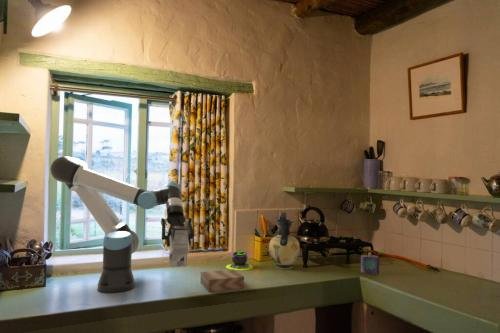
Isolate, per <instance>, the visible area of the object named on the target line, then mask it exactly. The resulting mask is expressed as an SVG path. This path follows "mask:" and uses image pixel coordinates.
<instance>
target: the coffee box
mask: <svg viewBox="0 0 500 333" xmlns="http://www.w3.org/2000/svg"><path fill="white" fill-rule="evenodd" d="M188 233H189V229H188V226H186V225H185V226H171V234H170V238H172V248H173V251H172V254H170V253H169V257H168V260H169V261H168V263H169V265H170V266H171V268H186V267H187V266H188V264H187V262H188V254H187V250H188Z"/></svg>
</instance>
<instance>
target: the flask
mask: <svg viewBox="0 0 500 333" xmlns="http://www.w3.org/2000/svg"><path fill="white" fill-rule="evenodd" d="M360 273H361V274H367V275H368V274H369V275H371V274H372V275H379V274H380V257H379V256H378V255H374V254H372V252H368V255H361V256H360Z"/></svg>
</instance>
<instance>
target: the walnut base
mask: <svg viewBox="0 0 500 333" xmlns="http://www.w3.org/2000/svg"><path fill="white" fill-rule="evenodd" d="M200 284H201V286H203V287H204V289H205V290H206V291H207V292H208V293H212V292H221V291H232V289H233V290H240V289H241V288H242V289H245V276H244V275H242V274H241V273H239V272H238V270H234V269H221V270H219V269H218V270H211V271H210V270H209V271H207V270H206V271H201V272H200Z"/></svg>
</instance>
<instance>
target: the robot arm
mask: <svg viewBox="0 0 500 333" xmlns="http://www.w3.org/2000/svg"><path fill="white" fill-rule="evenodd" d="M49 170H50V174H51V176H52V178H53V179H54V180H56V181H58V182H61V183H64V184H65V186H66V187H67V188H68V189H69V191H72V192H75V193H76V195H77V196H78V197H79V199H80V200H81V202H82V203H83V204H84V207H86V209H87V210H88V211H89V212H90V214H91V216H92V217H93V219H94V220H95V221H96V223H97V224H98V225H99V228H101V229H102V231H103V232H104V236H103V242H102V245H103V247H102V248H103V250H102V271H101V274H100V276H99V279H98V282H97V291H99V292H103V293H111V294H112V293H121V292H126V291H130V290H132V289H134V288H135V287H136V280H135V277H134V274H133V271H132V255H133V254H134V253H135V252H136V251H137V249H138V247H139V243H140V242H139V241H140V240H139V236H138V234H137V233H136V232H135V231H133V230H132V229H131V228H130V227H129V225H128V224H127V223H126V222H122V221H121V220H120V219H119V217H118V215H117V214H116V213H115V211H114V210H113V208H112V207H111V206H110V204H109V203H108V201H107V200H106V199H105V197H104V196H103V194H105V195H107V196H110V197H114V198H116V199H118V200H121V201H125V202H127V203H130V204H133V205H135V206H138V207H139V208H141V209H144V210H150V209H153V208H155V207H157V206H161V205H165V206H166V207H165V208H166V218H161V220H160V224H161V240H162V241H163V240H164V241H165V242H166V247H169V248H168V249H169V255H170V254H172V251H173V248H172V238H170V234H171V226H185V227H187V228H188V229H189V230H188V250H187V255H188V254H190V252H191V251H190V250H191V249H190V247H191V245H192V240H194V238H195V232H194V228H193V226H192V218H190V217H189V218H186V217H185V212H184V206H183V200H182V198H183V197H182V192H181V186H180V185H179V183H177V182H176V181H169V182H168V183H165V185H164V187H163V188H159V189H154V190H147V189H144V188H141V187H138V186H136V185H133V184H130V183H127V182H125V181H121V180H120V179H119V180H118V179H116V178H113V177H111V176H110V177H109V176H108V175H105V174H102V173H99V172H96V171H94V170H91V169H90V167H89V164H87V162H86V161H85V160H83V159H82V158H78V157H71V156H59V157H57V158H55V159H54V160H53V161H52V162H51V164H50V169H49ZM167 223H168V224H169V225H170V226H169V228H168V232H167V235H166V224H167ZM185 223H186V225H187V226H186V225H185Z"/></svg>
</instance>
